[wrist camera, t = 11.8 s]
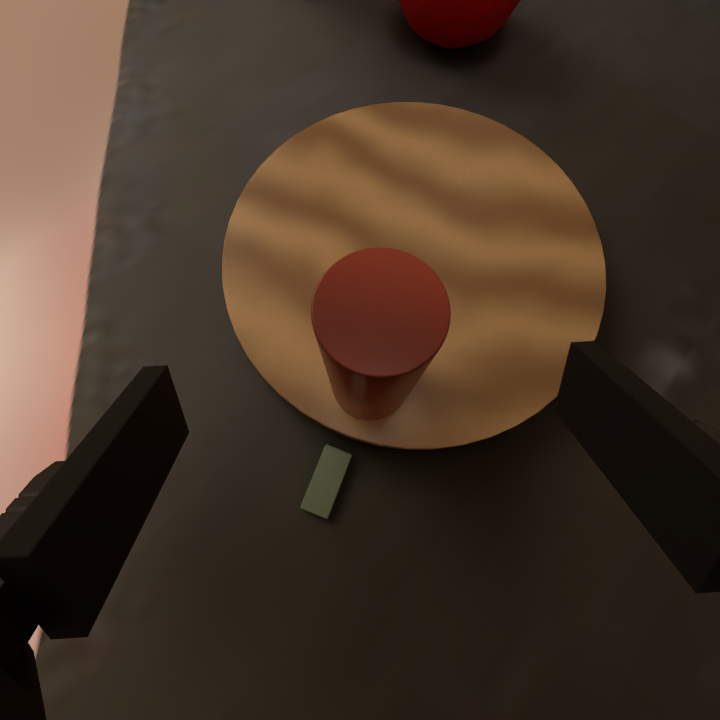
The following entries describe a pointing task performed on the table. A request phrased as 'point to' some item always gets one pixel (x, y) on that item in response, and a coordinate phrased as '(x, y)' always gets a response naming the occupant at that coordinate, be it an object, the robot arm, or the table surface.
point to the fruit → (456, 20)
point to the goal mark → (326, 481)
